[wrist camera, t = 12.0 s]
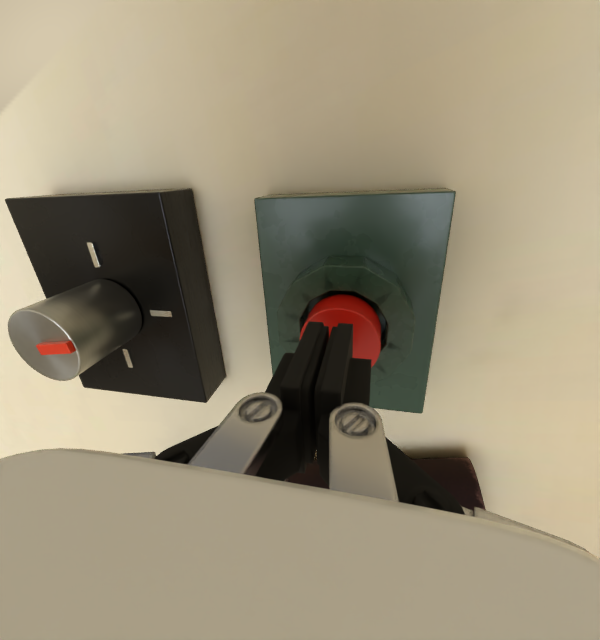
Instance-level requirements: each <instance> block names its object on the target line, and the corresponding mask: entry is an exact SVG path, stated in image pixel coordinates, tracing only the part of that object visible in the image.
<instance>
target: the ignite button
mask: <svg viewBox="0 0 600 640" xmlns="http://www.w3.org/2000/svg"><path fill="white" fill-rule="evenodd" d="M309 321H310V322H323V323H324V326H328V327H329V337H330V333H331V330H332V327H337V326H338V323H347V324H353V358H361V359H372V362H371V368H372V367H373V365H374V364H375V363H376V361H377V359H378V357H379V354H380V350H381V325H380V320H379V317H378V315H377V313H376V312H375V310H374V309H373V308H372V307H371V306H370V305H369V304H368V303H367V302H365V301H364V300H362V299H360V298H358V297H355V296H352V295H346V294H337V295H332V296H328V297H326V298H324V299H322V300H321V301H319V302H318V303H317V304H316V305H315V306H314V307H313V308H312V310H311V312H310V314H309V316H308V318H307V320H306V322H305V324H304V326H303V328H302V330H301V333H300V340H301V337H302V335H303V333H304V331H305V328H306V326H307V324H308V322H309Z"/></svg>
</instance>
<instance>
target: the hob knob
mask: <svg viewBox="0 0 600 640" xmlns="http://www.w3.org/2000/svg"><path fill="white" fill-rule="evenodd" d="M141 325H142V316H141V312H140V309H139V306H138V304H137V303H136V301H135V299H134V298H133V297H132V295H131V294H130V293H129V292H128V291H127V290H126V289H125V288H123V287H122V286H120V285H119V284H117V283H115V282H113V281H110V280H105V279H97V280H93V281H91V282H88V283H86V284H83V285H81V286H78V287H76V288H73V289H70V290H68V291H65V292H63V293H60V294H58V295H55V296H53V297H50V298H47V299H45V300H42V301H40V302H37V303H35V304H32V305H30V306H27V307H25V308H22V309H19V310H17V311H15V312H14V313H13V314H12V315H11V317H10V319H9V322H8V332H9V336H10V339H11V342H12V344H13V346H14V347H15V349H16V351H17V352H18V354H19V355H20V356H21V357H22V358H23V360H24V361H25V362H26V363H27V364H28V365H29V366H31V367H32V368H33V369H34V370H36V371H37V372H39V373H40V374H42V375H44V376H46V377H48V378H51V379H54V380H59V381H66V380H71V379H73V378H75V377H76V376H78V375H79V374H81V373H82V372H84V371H85V370H87V369H88V368H89V367H91V366H92V365H94V364H95V363H97V362H98V361H100V360H101V359H103V358H104V357H106V356H107V355H108V354H110V353H111V352H113V351H114V350H116V349H117V348H119V347H120V346H122V345H123V344H125V343H126V342H127V341H129V340H130V339H132V338H133V337H135V336H136V335H137V334H138V333H139V331H140V329H141Z"/></svg>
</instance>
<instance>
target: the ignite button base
mask: <svg viewBox="0 0 600 640" xmlns="http://www.w3.org/2000/svg"><path fill="white" fill-rule="evenodd" d="M455 194H456V192H455V191H453V190H450V189H446V188H436V189H410V190H384V191H357V192H331V193H305V194H279V195H267V196H262V197H258V198H255V210H256V220H257V229H258V239H259V248H260V258H261V268H262V277H263V287H264V296H265V306H266V316H267V325H268V335H269V344H270V354H271V364H272V373H273V375H274V373H275V371H276V369H277V367H278V365H279V363H280V361H281V359H282V357H283V355H284V354H285V353H295V351H296V349H297V346H298V344H299V342H300V333H301V330H302V328H303V326H304V324H305V322H306V320H307V318H308V316H309V314H310V312H311V310H312V308H313V307H314V306H315V305H316V304H317V303H318V302H319V301H321V300H322V299H324V298H326V297H328V296H332V295H337V294H346V295H352V296H355V297H358V298H360V299H362V300H364V301H365V302H367V303H368V304H369V305H370V306H371V307H372V308H373V309H374V310H375V312H376V313H377V315H378V317H379V320H380V325H381V350H380V354H379V357H378V359H377V361H376V363H375V364H374V365H373V367H372V368H371V382H370V402H369V406H370V407H371V408H378V409H387V410H395V411H404V412H413V413H423V407H424V400H425V393H426V387H427V380H428V373H429V367H430V360H431V354H432V347H433V340H434V334H435V327H436V320H437V314H438V307H439V300H440V294H441V287H442V280H443V274H444V267H445V260H446V254H447V247H448V240H449V234H450V227H451V220H452V214H453V207H454V201H455Z"/></svg>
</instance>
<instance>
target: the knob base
mask: <svg viewBox="0 0 600 640" xmlns="http://www.w3.org/2000/svg"><path fill="white" fill-rule="evenodd" d="M5 202H6V204H7V206H8V209H9V211H10V213H11V216H12V218H13V220H14V223H15V225H16V228H17V230H18V232H19V235H20V237H21V239H22V242H23V244H24V247H25V249H26V251H27V254H28V256H29V258H30V261H31V263H32V266H33V268H34V270H35V273H36V275H37V277H38V280H39V282H40V285H41V287H42V289H43V292H44V294H45V296H46V299H47V298H50V297H53V296H55V295H58V294H60V293H63V292H65V291H68V290H70V289H73V288H76V287H78V286H81V285H83V284H86V283H88V282H91V281H93V280H97V279H105V280H110V281H113V282H115V283H117V284H119V285H120V286H122V287H123V288H125V289H126V290H127V291H128V292H129V293H130V294H131V295H132V297H133V298H134V299H135V301H136V303H137V304H138V306H139V309H140V312H141V316H142V325H141V329H140V331H139V333H138V334H137V335H136V336H135V337H133V338H132V339H130V340H129V341H127V342H126V343H125V344H123V345H122V346H120V347H119V348H117V349H116V350H114V351H113V352H111V353H110V354H108V355H107V356H106V357H104V358H103V359H101V360H100V361H98V362H97V363H95V364H94V365H92V366H91V367H89V368H88V369H87V370H85V371H84V372H82V373H81V374H79V377H80V379H81V382H82V384H83V386H84V387H85V388H92V389H100V390H108V391H116V392H124V393H132V394H140V395H148V396H156V397H164V398H172V399H180V400H188V401H196V402H204V403H206V402H207V401H208V400H209V399H210V397H211V396H212V395H213V393H214V392H215V391H216V389H217V388H218V387H219V385H220V384H221V383H222V381H223V380H224V379H225V377H226V375H225V370H224V364H223V359H222V353H221V348H220V342H219V337H218V331H217V326H216V320H215V315H214V309H213V304H212V298H211V293H210V287H209V282H208V276H207V271H206V265H205V260H204V254H203V249H202V243H201V238H200V232H199V227H198V221H197V215H196V210H195V204H194V199H193V193H192V189H190V188H189V189H167V190H146V191H124V192H102V193H80V194H59V195H44V196H32V197H20V198H8V199H5Z"/></svg>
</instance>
